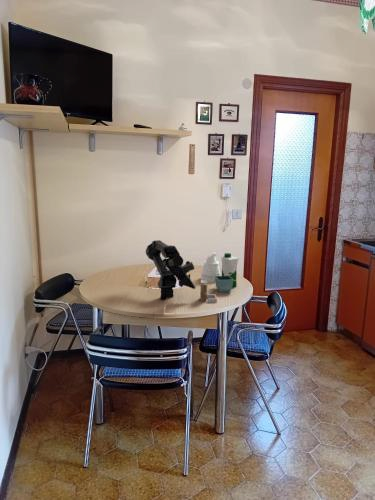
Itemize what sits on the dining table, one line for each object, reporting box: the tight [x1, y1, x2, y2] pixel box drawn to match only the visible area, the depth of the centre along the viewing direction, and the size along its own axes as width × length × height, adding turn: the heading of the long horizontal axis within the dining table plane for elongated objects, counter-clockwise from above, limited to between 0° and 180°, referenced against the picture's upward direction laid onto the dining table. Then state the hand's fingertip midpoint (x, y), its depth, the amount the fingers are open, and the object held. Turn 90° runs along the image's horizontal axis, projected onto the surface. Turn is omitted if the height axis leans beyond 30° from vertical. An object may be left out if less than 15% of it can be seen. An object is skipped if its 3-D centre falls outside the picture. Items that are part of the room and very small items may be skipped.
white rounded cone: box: [200, 252, 222, 283], centre depth 247 cm, size 13×13×18 cm
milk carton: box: [220, 252, 239, 288], centre depth 233 cm, size 9×9×20 cm
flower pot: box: [214, 275, 233, 293], centre depth 221 cm, size 9×9×9 cm
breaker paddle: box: [199, 279, 208, 302], centre depth 203 cm, size 3×5×10 cm, turn 2°
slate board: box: [207, 293, 218, 303], centre depth 205 cm, size 17×10×3 cm, turn 92°
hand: (194, 288), depth 203 cm, fingers closed
